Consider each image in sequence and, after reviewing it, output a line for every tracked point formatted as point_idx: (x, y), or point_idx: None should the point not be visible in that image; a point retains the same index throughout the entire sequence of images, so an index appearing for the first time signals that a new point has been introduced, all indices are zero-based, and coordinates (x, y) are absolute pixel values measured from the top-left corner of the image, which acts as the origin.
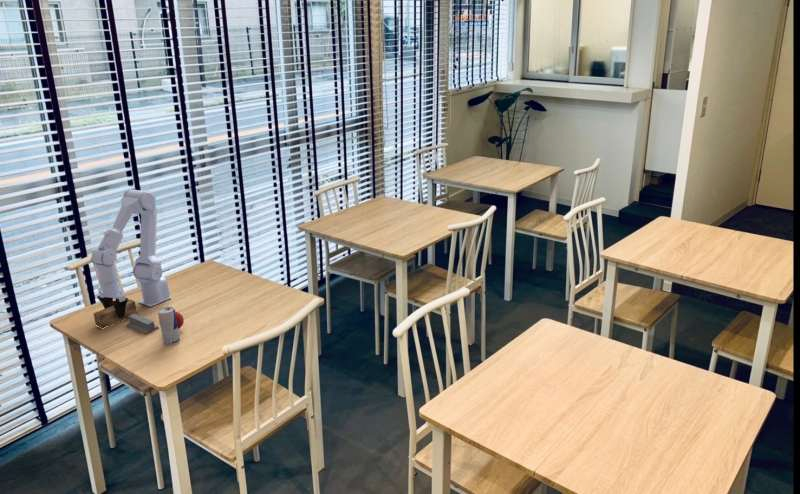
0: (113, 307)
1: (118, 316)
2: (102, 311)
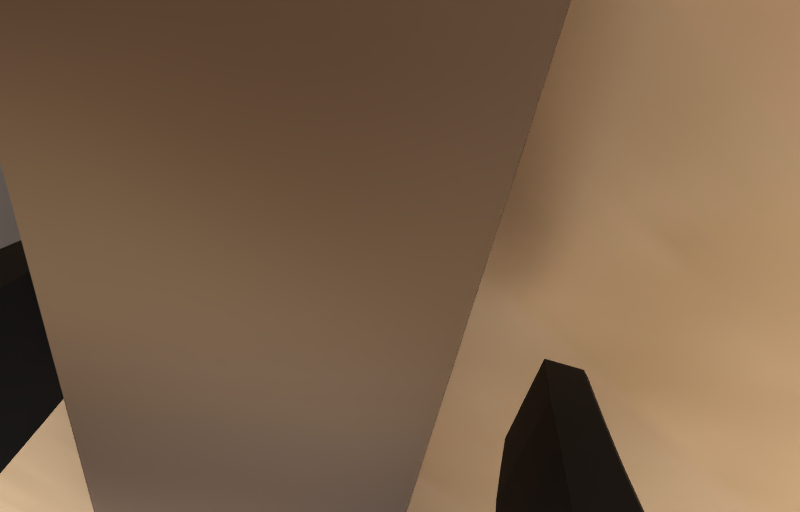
0: (253, 504)
1: (21, 244)
2: (316, 246)
